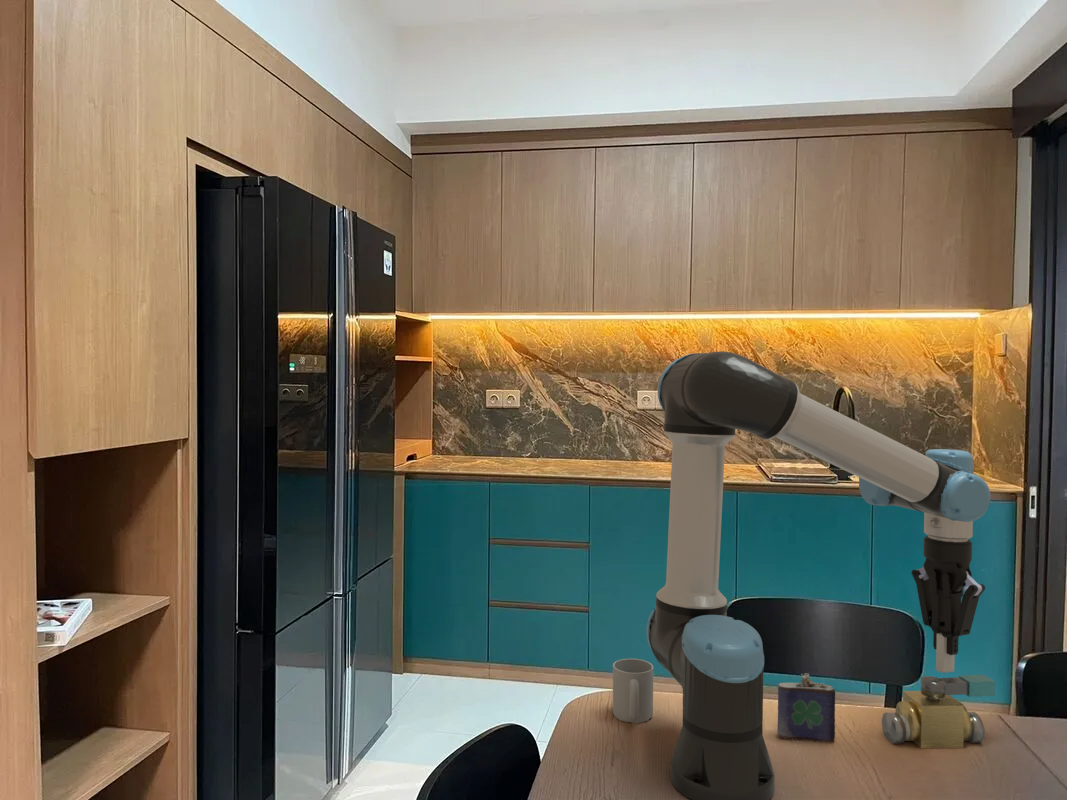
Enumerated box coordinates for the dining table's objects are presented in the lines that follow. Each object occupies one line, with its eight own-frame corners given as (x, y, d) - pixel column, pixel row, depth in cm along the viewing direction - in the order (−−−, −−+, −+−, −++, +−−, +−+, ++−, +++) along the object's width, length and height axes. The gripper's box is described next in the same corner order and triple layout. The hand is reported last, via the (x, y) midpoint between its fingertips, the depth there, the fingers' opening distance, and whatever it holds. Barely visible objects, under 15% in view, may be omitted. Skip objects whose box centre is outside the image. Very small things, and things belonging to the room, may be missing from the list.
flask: (778, 739, 128) (779, 676, 127) (776, 731, 130) (776, 669, 130) (836, 744, 126) (837, 680, 126) (832, 736, 129) (833, 673, 129)
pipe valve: (897, 750, 124) (898, 703, 124) (880, 733, 130) (880, 688, 130) (986, 750, 125) (987, 703, 125) (965, 733, 131) (966, 688, 131)
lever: (929, 699, 125) (929, 684, 125) (916, 690, 129) (916, 676, 129) (996, 696, 126) (996, 682, 126) (981, 688, 130) (982, 673, 130)
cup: (651, 707, 140) (651, 659, 140) (655, 731, 130) (655, 680, 130) (612, 705, 141) (612, 658, 141) (613, 730, 131) (613, 678, 131)
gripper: (901, 532, 138) (898, 660, 139) (966, 546, 126) (963, 687, 127) (930, 529, 141) (928, 655, 142) (997, 543, 129) (994, 680, 130)
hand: (945, 670), depth 134 cm, fingers closed
